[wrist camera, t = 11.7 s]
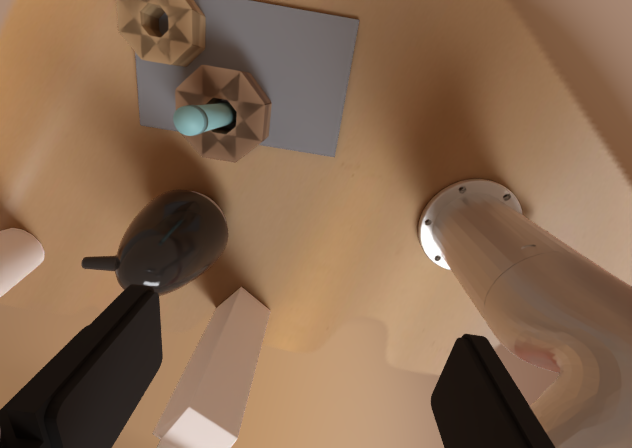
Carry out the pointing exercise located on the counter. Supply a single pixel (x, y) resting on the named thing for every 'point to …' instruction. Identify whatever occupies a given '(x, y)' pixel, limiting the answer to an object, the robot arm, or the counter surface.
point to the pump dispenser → (168, 243)
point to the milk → (216, 378)
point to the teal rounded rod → (203, 118)
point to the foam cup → (17, 257)
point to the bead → (243, 97)
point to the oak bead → (147, 41)
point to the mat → (266, 69)
